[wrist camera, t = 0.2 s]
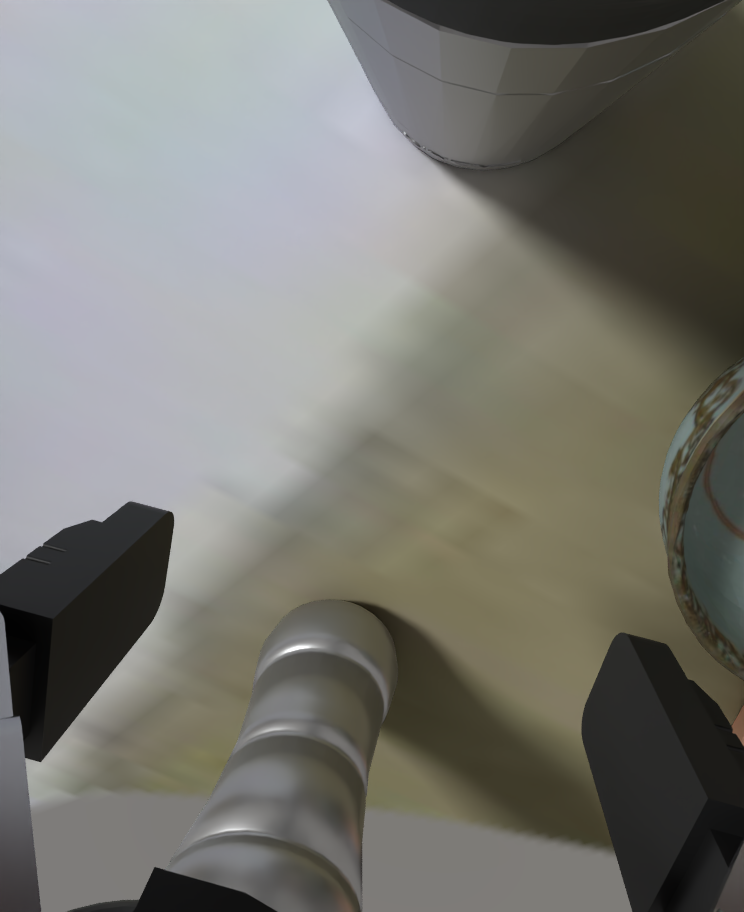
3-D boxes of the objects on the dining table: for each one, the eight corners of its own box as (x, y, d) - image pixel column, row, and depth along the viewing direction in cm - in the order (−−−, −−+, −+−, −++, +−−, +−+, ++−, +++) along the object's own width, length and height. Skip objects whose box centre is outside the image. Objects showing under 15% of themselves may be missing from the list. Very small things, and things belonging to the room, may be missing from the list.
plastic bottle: (424, 665, 32) (390, 1271, 13) (310, 706, 34) (139, 1295, 15) (364, 562, 31) (232, 1086, 12) (248, 611, 32) (-28, 1136, 14)
